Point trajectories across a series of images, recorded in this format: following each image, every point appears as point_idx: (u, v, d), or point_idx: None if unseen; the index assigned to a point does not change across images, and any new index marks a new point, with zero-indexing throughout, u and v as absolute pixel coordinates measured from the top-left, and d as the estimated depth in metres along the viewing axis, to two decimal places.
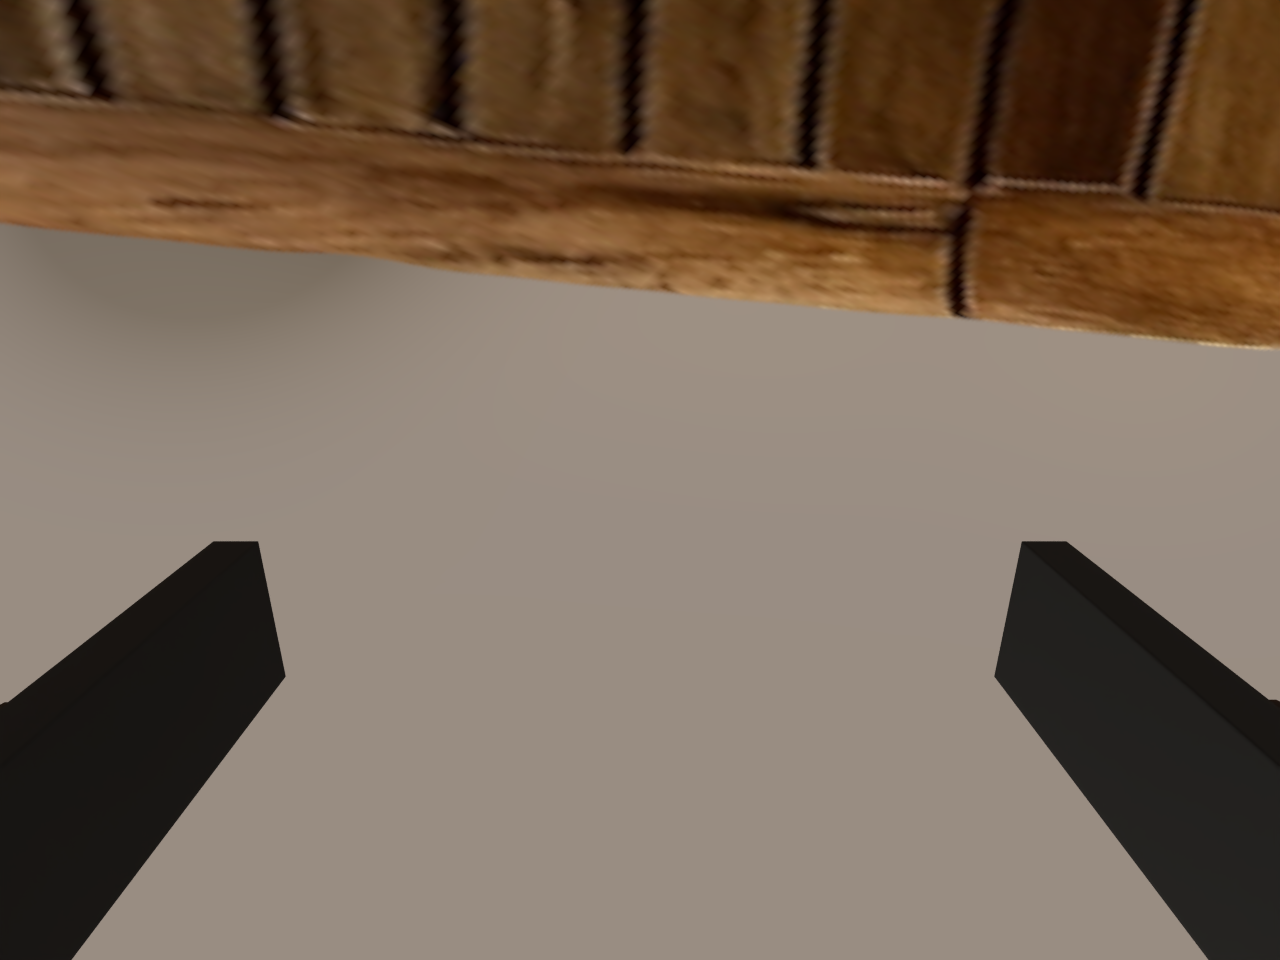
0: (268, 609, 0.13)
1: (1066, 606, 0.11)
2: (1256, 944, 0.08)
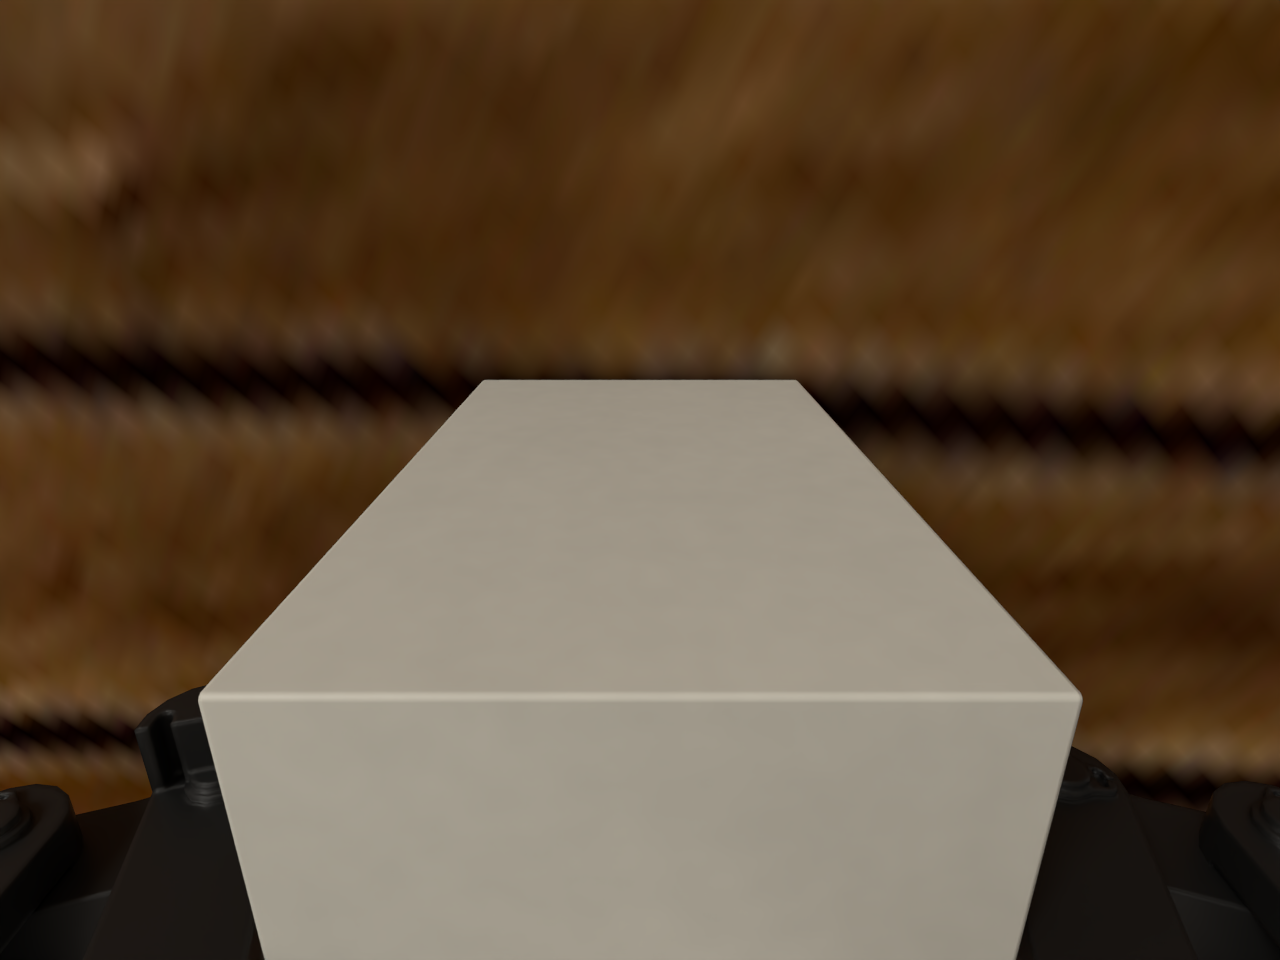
0: None
1: None
2: None
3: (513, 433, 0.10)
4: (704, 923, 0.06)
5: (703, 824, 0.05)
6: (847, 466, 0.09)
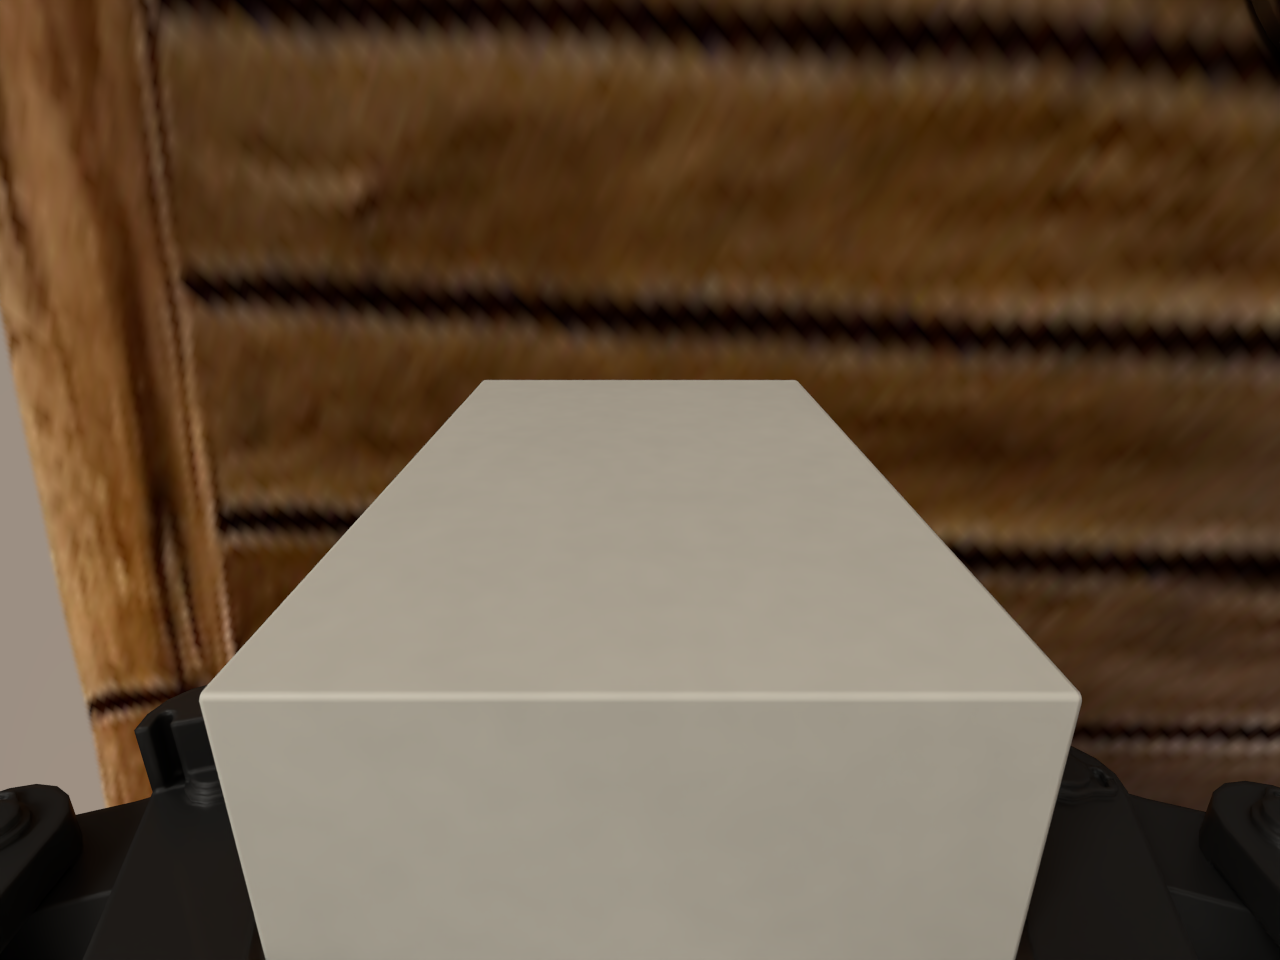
0: None
1: None
2: None
3: (513, 433, 0.10)
4: (704, 922, 0.06)
5: (704, 823, 0.05)
6: (847, 466, 0.09)
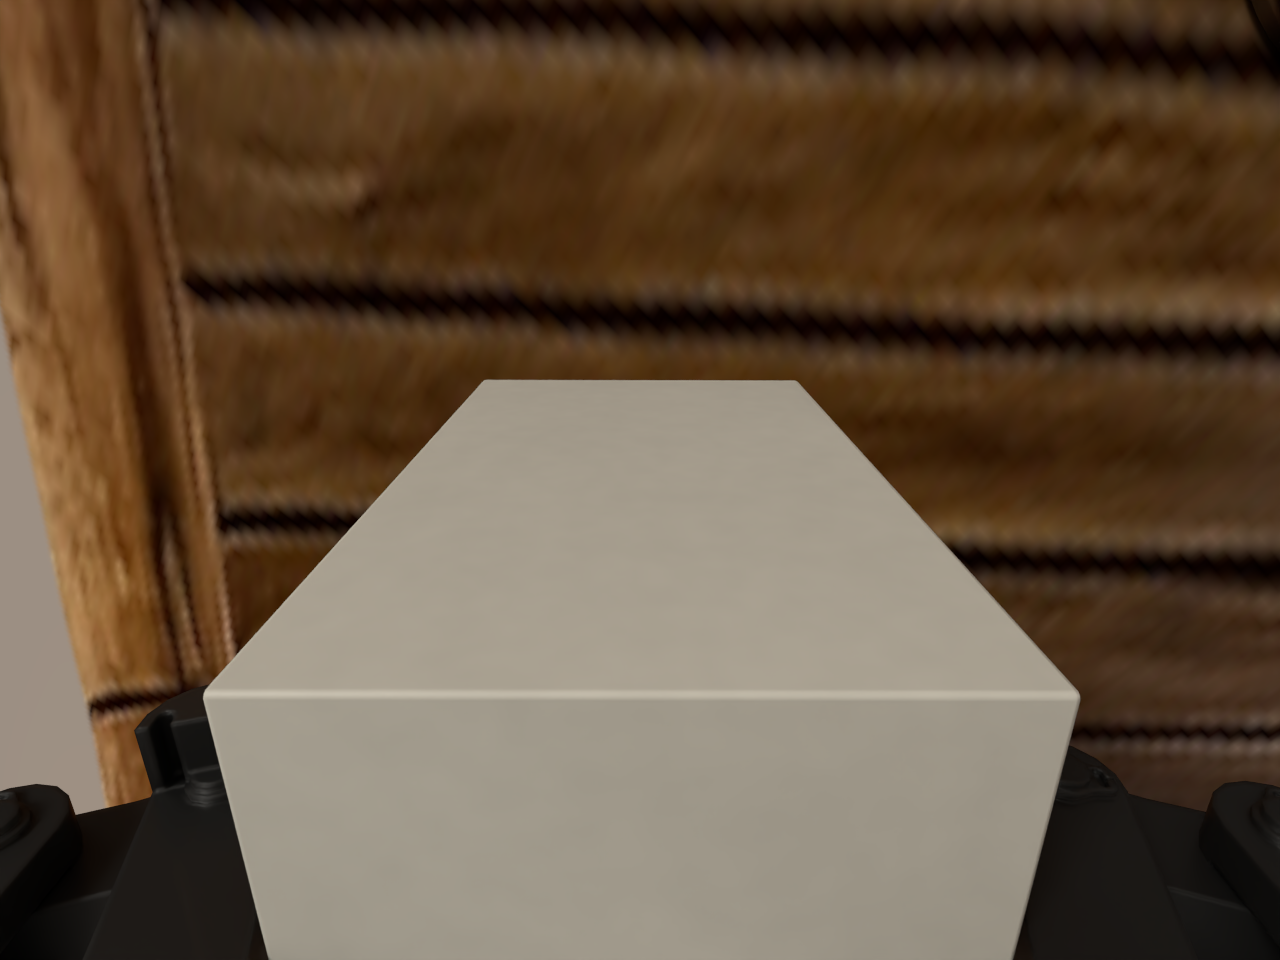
0: None
1: None
2: None
3: (514, 433, 0.10)
4: (703, 920, 0.06)
5: (703, 821, 0.05)
6: (847, 466, 0.09)
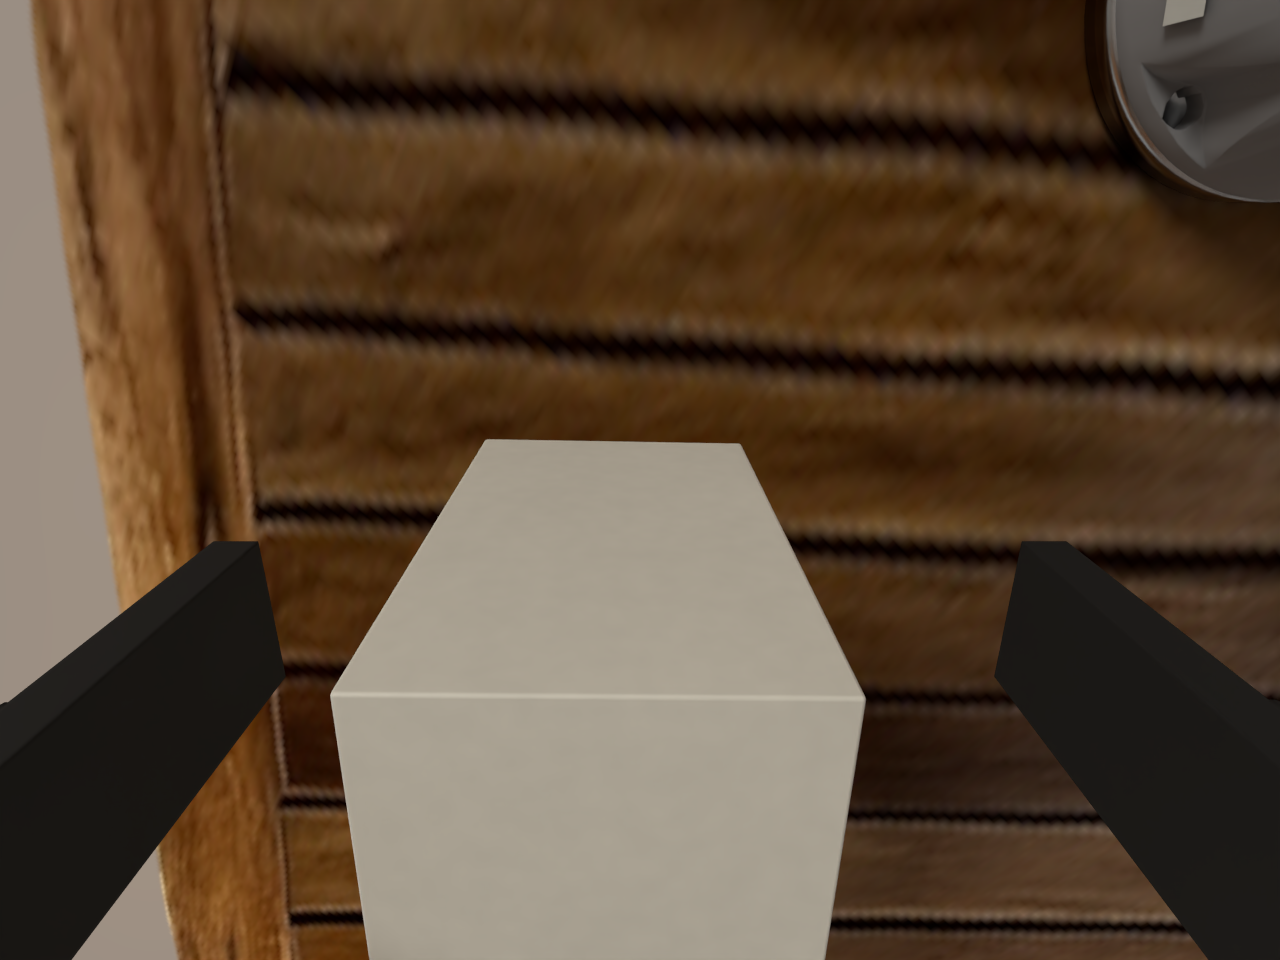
0: (269, 609, 0.13)
1: (1066, 605, 0.11)
2: (1256, 944, 0.08)
3: (513, 495, 0.14)
4: (640, 842, 0.09)
5: (640, 776, 0.08)
6: (761, 529, 0.12)
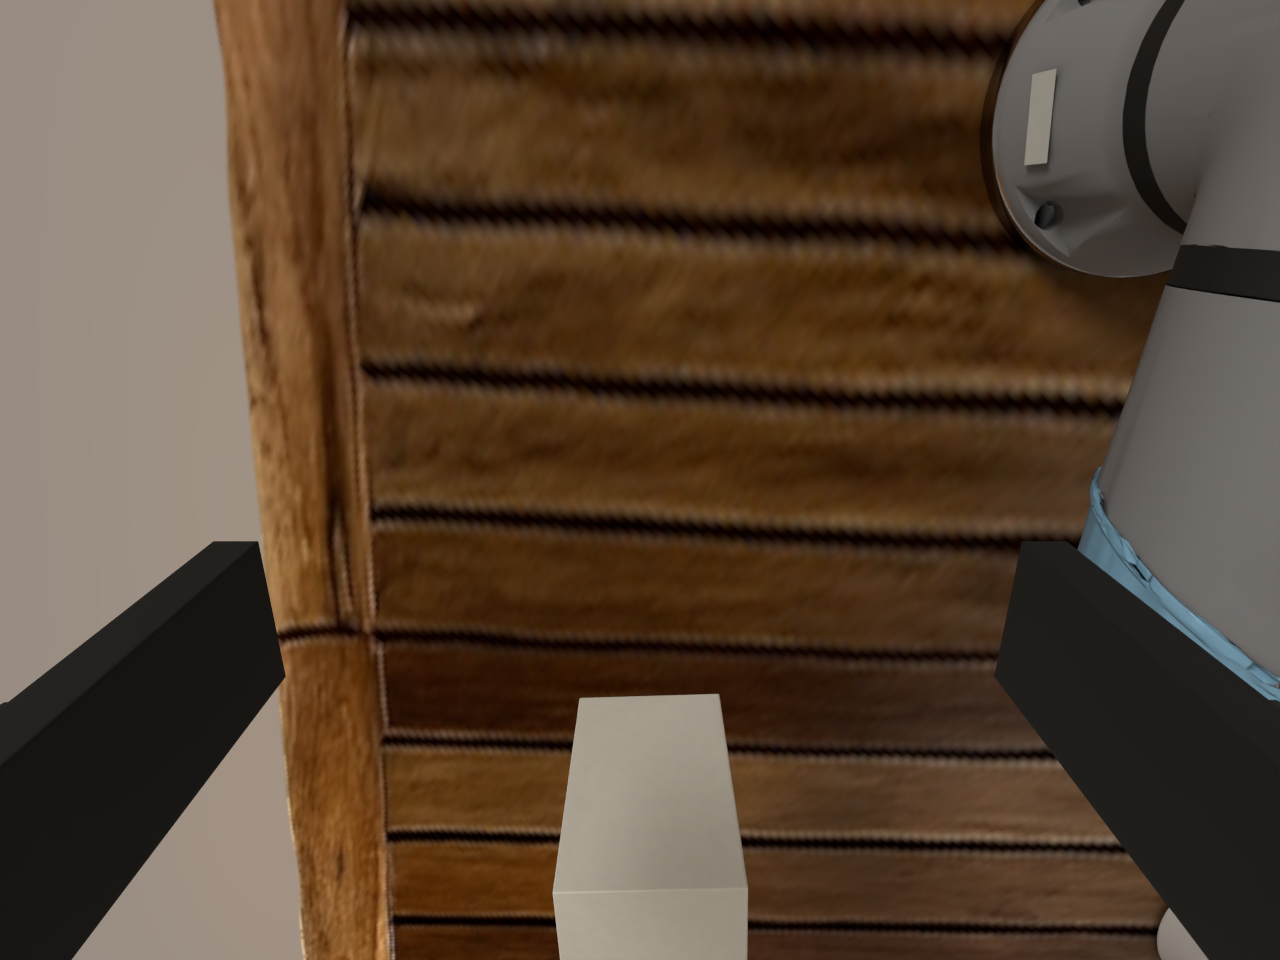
0: (268, 609, 0.13)
1: (1065, 606, 0.11)
2: (1256, 944, 0.08)
3: (601, 754, 0.28)
4: (667, 940, 0.23)
5: (666, 917, 0.22)
6: (721, 778, 0.26)
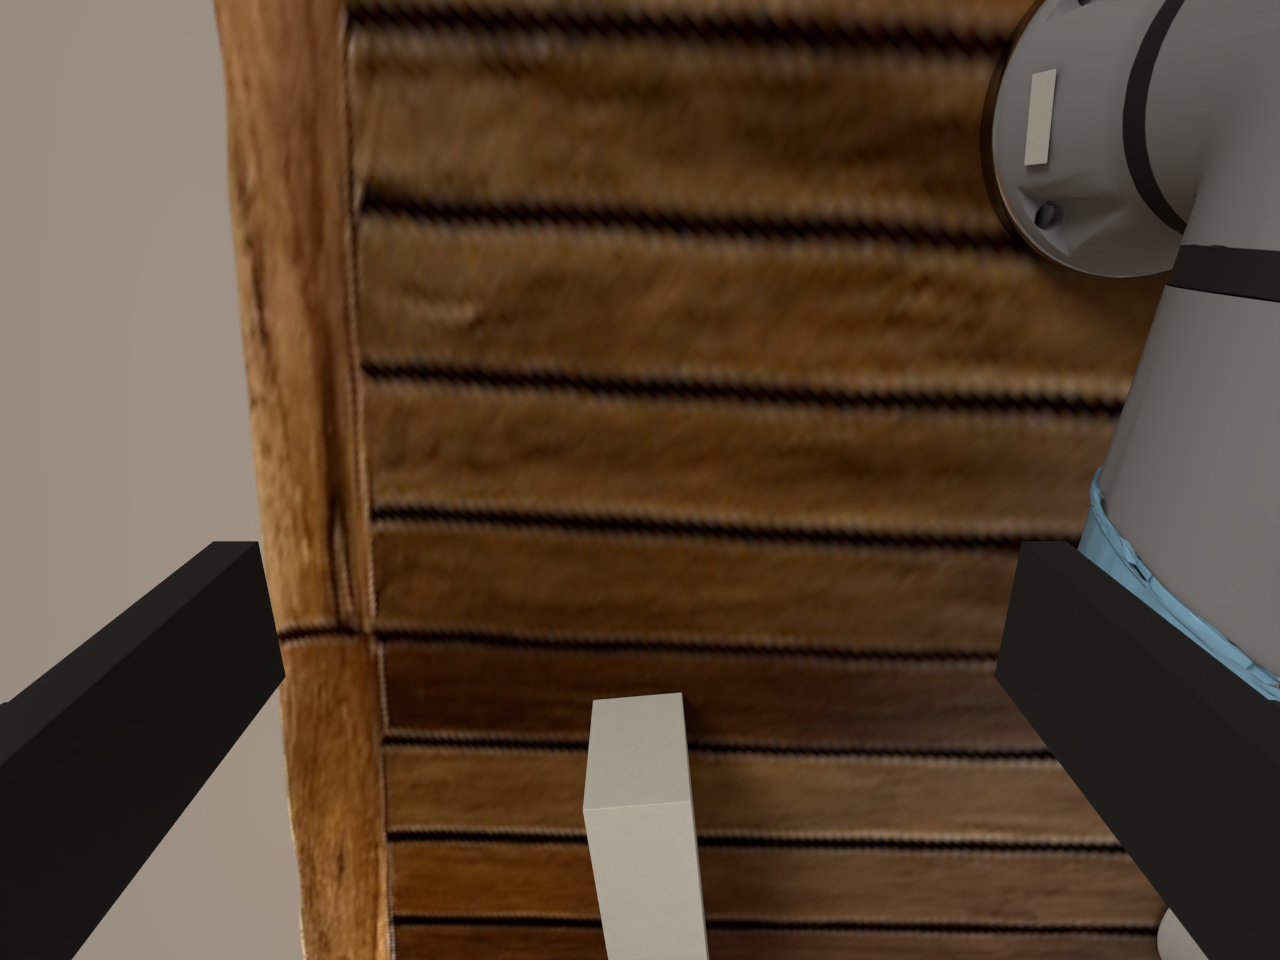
0: (269, 610, 0.13)
1: (1065, 606, 0.11)
2: (1256, 944, 0.08)
3: (608, 734, 0.45)
4: (649, 834, 0.40)
5: (647, 820, 0.40)
6: (679, 743, 0.44)
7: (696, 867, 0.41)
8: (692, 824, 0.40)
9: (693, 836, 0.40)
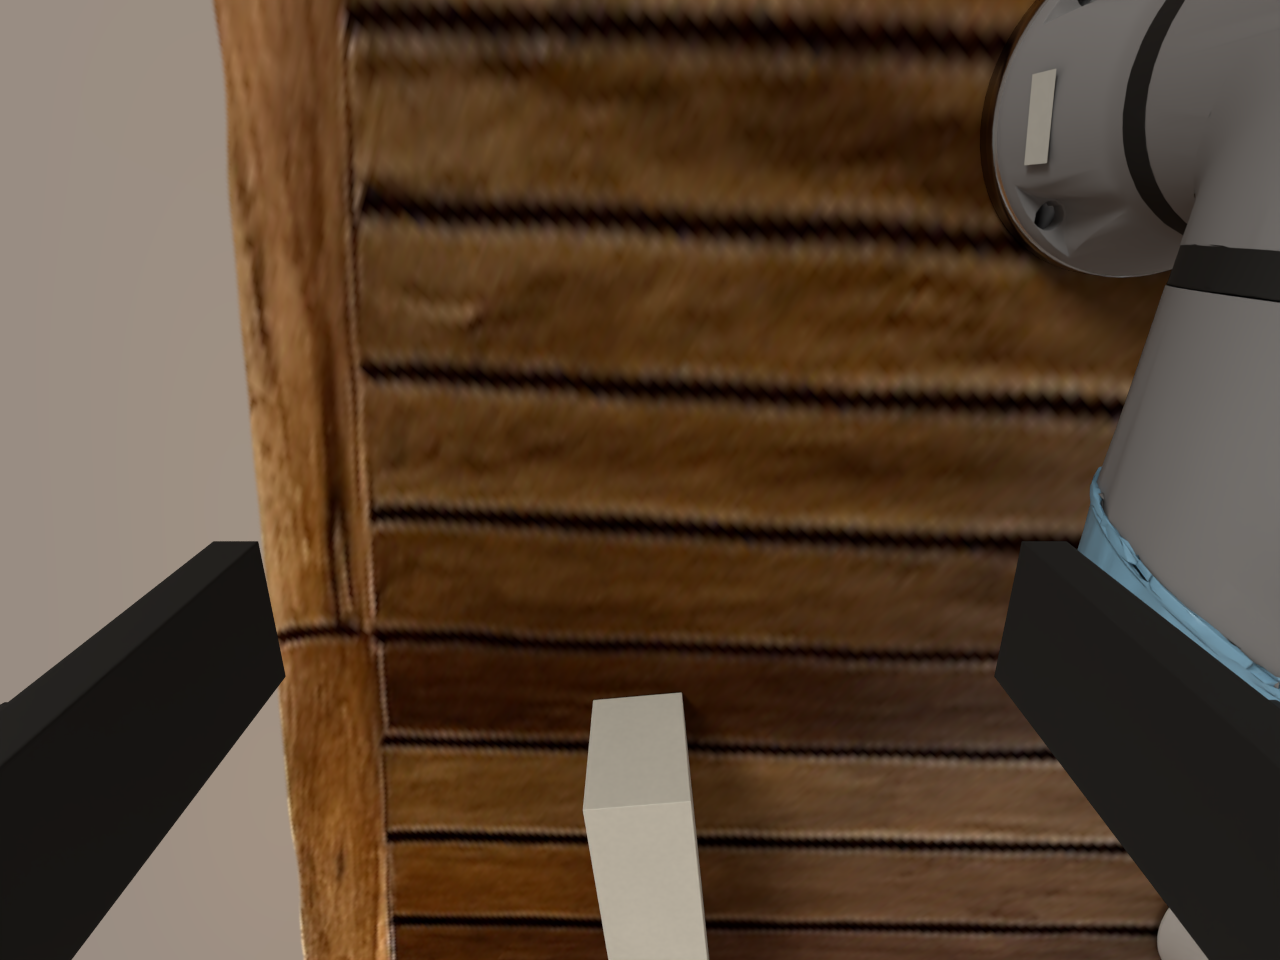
0: (269, 610, 0.13)
1: (1065, 606, 0.11)
2: (1256, 944, 0.08)
3: (608, 734, 0.45)
4: (649, 834, 0.40)
5: (647, 820, 0.40)
6: (679, 743, 0.44)
7: (696, 867, 0.41)
8: (692, 824, 0.40)
9: (693, 836, 0.40)
